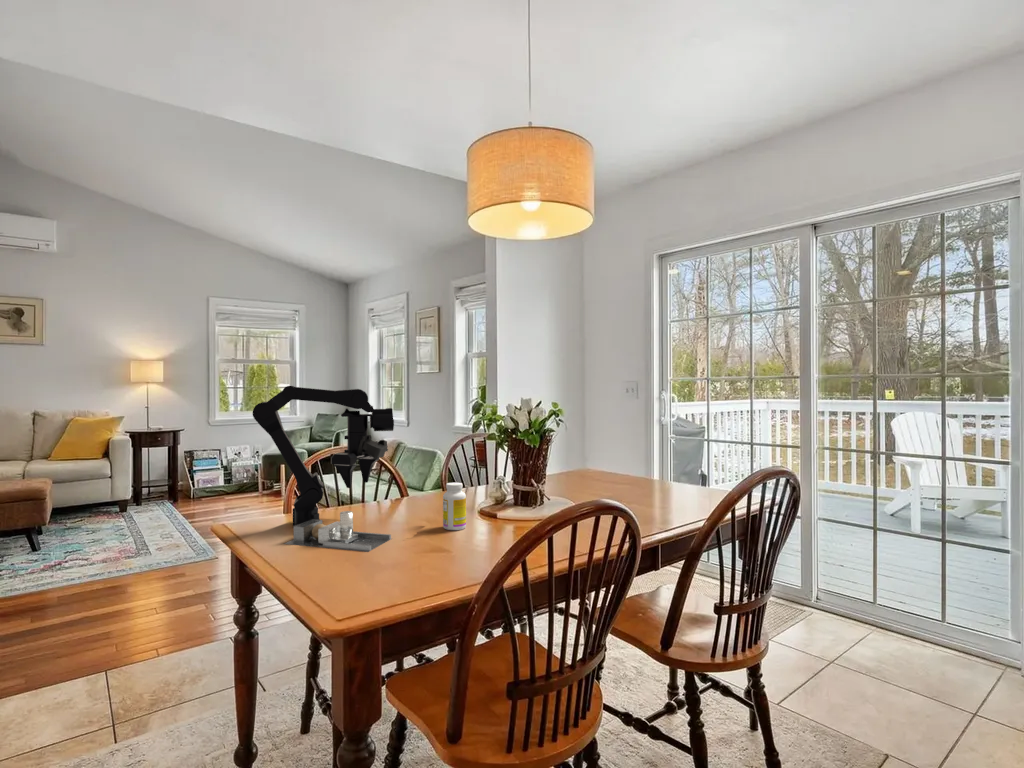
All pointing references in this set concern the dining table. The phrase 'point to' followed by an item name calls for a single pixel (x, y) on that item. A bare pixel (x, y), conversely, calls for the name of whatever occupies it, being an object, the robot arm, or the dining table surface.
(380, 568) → the dining table surface
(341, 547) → the press base
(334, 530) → the ram
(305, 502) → the robot arm
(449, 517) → the supplement bottle
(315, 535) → the tan ball
